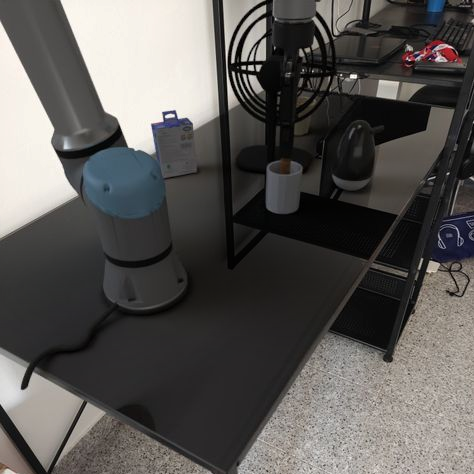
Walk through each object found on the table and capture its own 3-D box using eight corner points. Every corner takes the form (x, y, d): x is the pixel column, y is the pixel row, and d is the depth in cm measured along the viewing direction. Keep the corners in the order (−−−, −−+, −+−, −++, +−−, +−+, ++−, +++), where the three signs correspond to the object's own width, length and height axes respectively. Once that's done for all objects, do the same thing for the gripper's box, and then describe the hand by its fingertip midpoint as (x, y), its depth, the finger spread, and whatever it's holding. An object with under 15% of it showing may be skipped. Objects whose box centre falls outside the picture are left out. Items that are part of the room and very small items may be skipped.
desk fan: (327, 152, 122) (348, -6, 97) (319, 179, 110) (341, 6, 85) (235, 145, 127) (232, -8, 102) (218, 170, 115) (211, 3, 90)
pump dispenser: (371, 197, 103) (386, 130, 92) (327, 193, 105) (337, 127, 94) (371, 178, 110) (384, 114, 99) (330, 175, 112) (339, 111, 101)
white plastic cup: (279, 217, 97) (281, 178, 91) (259, 204, 102) (260, 166, 95) (305, 207, 100) (309, 169, 94) (284, 194, 105) (287, 157, 98)
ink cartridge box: (192, 164, 118) (186, 106, 107) (198, 172, 114) (193, 113, 104) (157, 171, 115) (148, 112, 105) (162, 179, 112) (153, 119, 101)
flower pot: (277, 128, 136) (279, 98, 129) (305, 125, 137) (308, 94, 131) (289, 139, 129) (291, 108, 123) (317, 135, 131) (321, 104, 125)
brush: (282, 204, 98) (287, 108, 84) (271, 197, 100) (275, 103, 86) (295, 199, 99) (303, 104, 85) (284, 193, 102) (290, 99, 87)
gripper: (312, 28, 70) (300, 171, 87) (318, 11, 80) (306, 142, 97) (267, 27, 71) (263, 169, 88) (278, 11, 81) (273, 140, 98)
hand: (285, 154), depth 93 cm, fingers closed on brush, 2 cm apart
